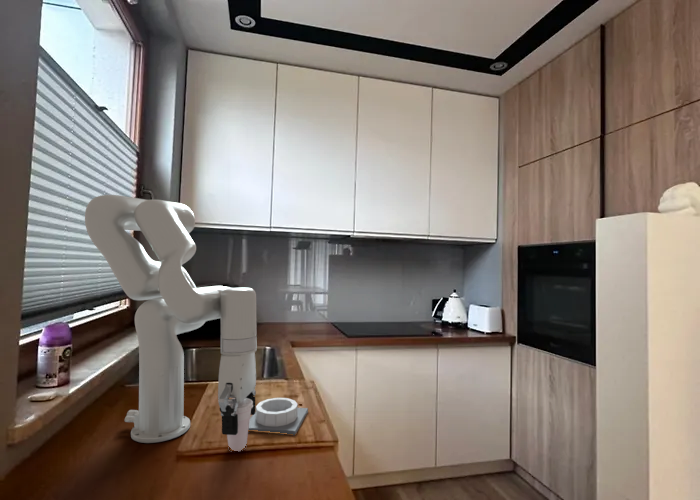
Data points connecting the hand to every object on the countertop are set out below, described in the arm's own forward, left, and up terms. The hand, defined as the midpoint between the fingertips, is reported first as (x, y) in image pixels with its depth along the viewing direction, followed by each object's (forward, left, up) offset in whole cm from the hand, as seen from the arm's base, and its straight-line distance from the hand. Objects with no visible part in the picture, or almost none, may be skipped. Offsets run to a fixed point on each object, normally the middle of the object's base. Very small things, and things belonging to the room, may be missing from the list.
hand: (239, 423), depth 83 cm
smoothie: (0, 0, -5) cm, 5 cm away
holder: (+4, +14, -5) cm, 15 cm away
